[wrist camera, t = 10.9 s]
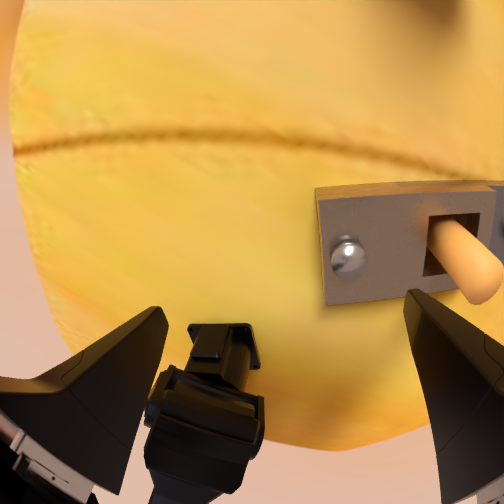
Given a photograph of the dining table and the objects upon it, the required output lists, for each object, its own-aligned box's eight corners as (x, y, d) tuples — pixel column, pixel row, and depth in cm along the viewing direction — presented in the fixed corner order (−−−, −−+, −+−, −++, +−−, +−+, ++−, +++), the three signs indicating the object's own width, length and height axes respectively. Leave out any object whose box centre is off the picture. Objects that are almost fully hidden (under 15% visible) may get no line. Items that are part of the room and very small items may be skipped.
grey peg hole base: (506, 259, 18) (519, 272, 16) (390, 276, 21) (399, 293, 19) (518, 181, 15) (535, 190, 13) (394, 182, 18) (406, 191, 16)
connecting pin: (449, 245, 19) (496, 300, 12) (418, 248, 20) (460, 308, 13) (453, 209, 18) (508, 256, 11) (421, 211, 18) (472, 261, 11)
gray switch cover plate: (465, 266, 20) (485, 290, 16) (322, 283, 22) (325, 314, 19) (476, 180, 16) (504, 195, 13) (314, 188, 19) (319, 205, 16)
